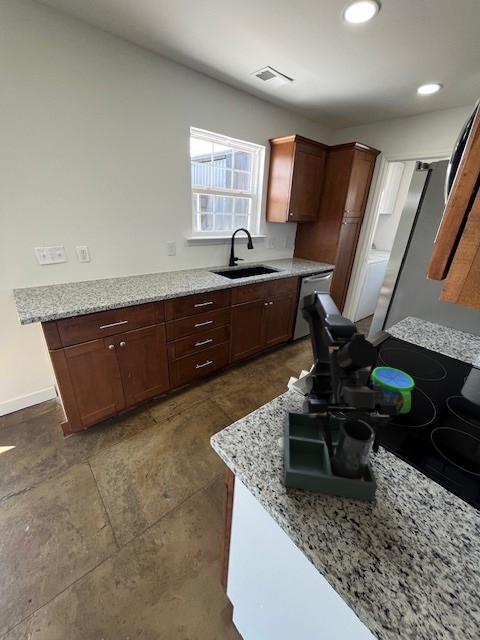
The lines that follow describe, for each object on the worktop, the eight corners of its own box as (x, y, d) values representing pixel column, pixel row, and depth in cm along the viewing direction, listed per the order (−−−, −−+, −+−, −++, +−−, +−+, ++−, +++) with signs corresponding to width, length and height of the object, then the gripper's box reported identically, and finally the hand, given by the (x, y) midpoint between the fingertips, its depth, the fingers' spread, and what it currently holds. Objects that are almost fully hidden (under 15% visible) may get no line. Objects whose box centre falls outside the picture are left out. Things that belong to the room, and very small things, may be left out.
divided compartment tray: (284, 423, 72) (286, 410, 70) (352, 432, 69) (356, 419, 68) (284, 486, 56) (286, 471, 54) (372, 501, 53) (377, 486, 52)
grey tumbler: (332, 456, 62) (343, 413, 57) (362, 468, 59) (376, 425, 54) (326, 478, 57) (337, 434, 51) (358, 493, 54) (373, 448, 49)
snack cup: (357, 387, 87) (363, 361, 83) (389, 388, 87) (397, 362, 83) (378, 423, 73) (387, 394, 69) (417, 425, 73) (428, 395, 68)
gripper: (313, 367, 52) (319, 456, 46) (407, 370, 52) (425, 458, 47) (300, 376, 62) (304, 449, 57) (378, 378, 63) (390, 451, 57)
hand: (353, 452), depth 54 cm, fingers open, 9 cm apart
